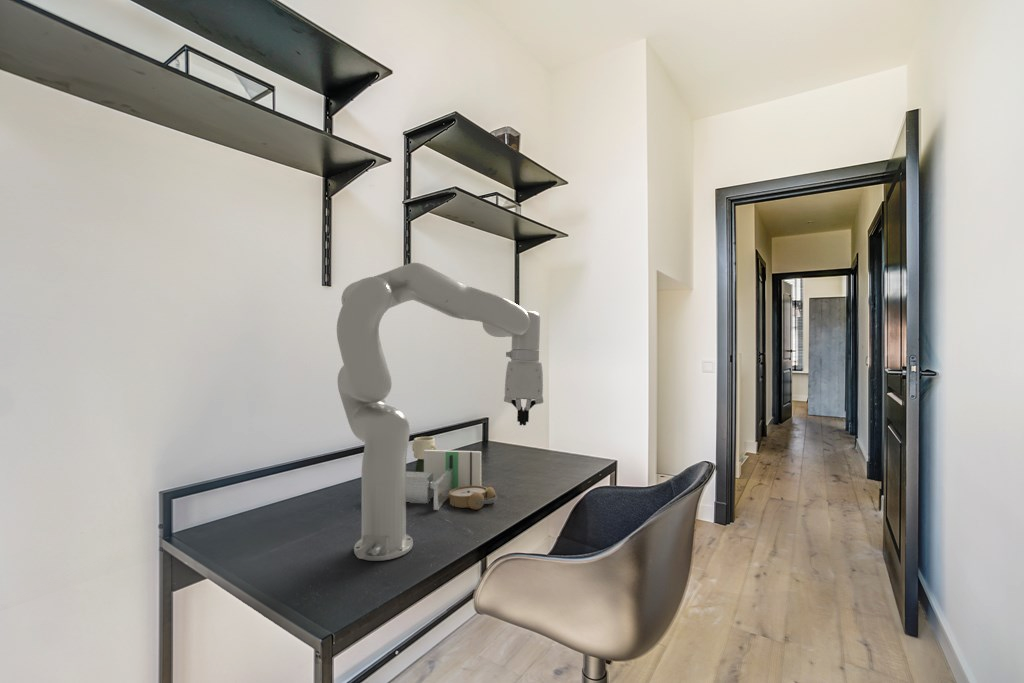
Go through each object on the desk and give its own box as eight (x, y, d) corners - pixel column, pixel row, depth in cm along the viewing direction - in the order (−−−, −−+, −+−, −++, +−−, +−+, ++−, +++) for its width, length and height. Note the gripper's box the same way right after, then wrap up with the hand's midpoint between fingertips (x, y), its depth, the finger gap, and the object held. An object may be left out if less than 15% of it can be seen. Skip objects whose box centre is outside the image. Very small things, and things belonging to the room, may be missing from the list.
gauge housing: (427, 503, 132) (427, 477, 132) (383, 501, 133) (383, 476, 133) (433, 497, 137) (433, 472, 137) (390, 495, 139) (390, 470, 139)
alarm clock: (466, 483, 141) (504, 484, 132) (468, 500, 141) (507, 501, 132) (440, 493, 132) (479, 494, 123) (442, 511, 132) (481, 513, 123)
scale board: (480, 491, 142) (480, 452, 142) (423, 489, 144) (423, 450, 144) (481, 490, 144) (481, 451, 144) (425, 487, 146) (425, 449, 146)
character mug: (443, 476, 158) (443, 438, 158) (428, 481, 152) (428, 442, 152) (420, 471, 164) (420, 435, 164) (405, 476, 158) (405, 438, 158)
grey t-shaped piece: (438, 510, 126) (438, 470, 126) (398, 508, 127) (398, 469, 127) (453, 489, 143) (453, 455, 143) (418, 488, 144) (418, 454, 144)
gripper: (496, 355, 122) (493, 425, 122) (552, 357, 121) (550, 428, 120) (499, 355, 130) (497, 421, 129) (552, 357, 128) (550, 423, 128)
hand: (522, 424), depth 125 cm, fingers closed
